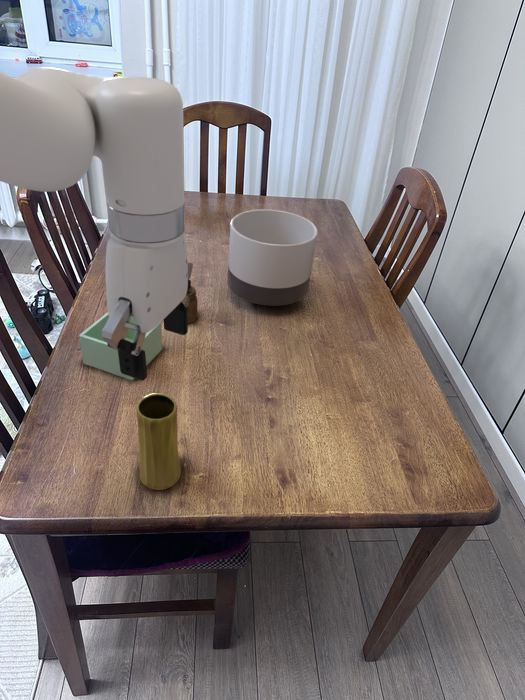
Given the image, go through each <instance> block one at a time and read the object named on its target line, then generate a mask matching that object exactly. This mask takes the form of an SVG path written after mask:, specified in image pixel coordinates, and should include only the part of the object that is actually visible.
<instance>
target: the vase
mask: <svg viewBox="0 0 525 700" xmlns="http://www.w3.org/2000/svg"><path fill="white" fill-rule="evenodd" d="M136 419H137V431H138V433H137V435H138V453H139V454H138V455H139V456H138V457H139V458H138V459H139V480H140V481H141V483H142V484H143V485H144V487H146V488H148V489H150V490H155V491H163V490H167V489H169V488H171V487H173V486H174V485H176V483H178V481H179V479H180V478H181V474H182V468H181V464H180V455H179V448H178V445H179V444H178V404H177V402H176V400H175V399H174V398H173V397H172V396H170V395H168V394H166V393H161V392H155V393H149V394H147V395H145V396H143V397H142V398H141V399H140V400H139V401H138V402H137V405H136Z"/></svg>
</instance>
